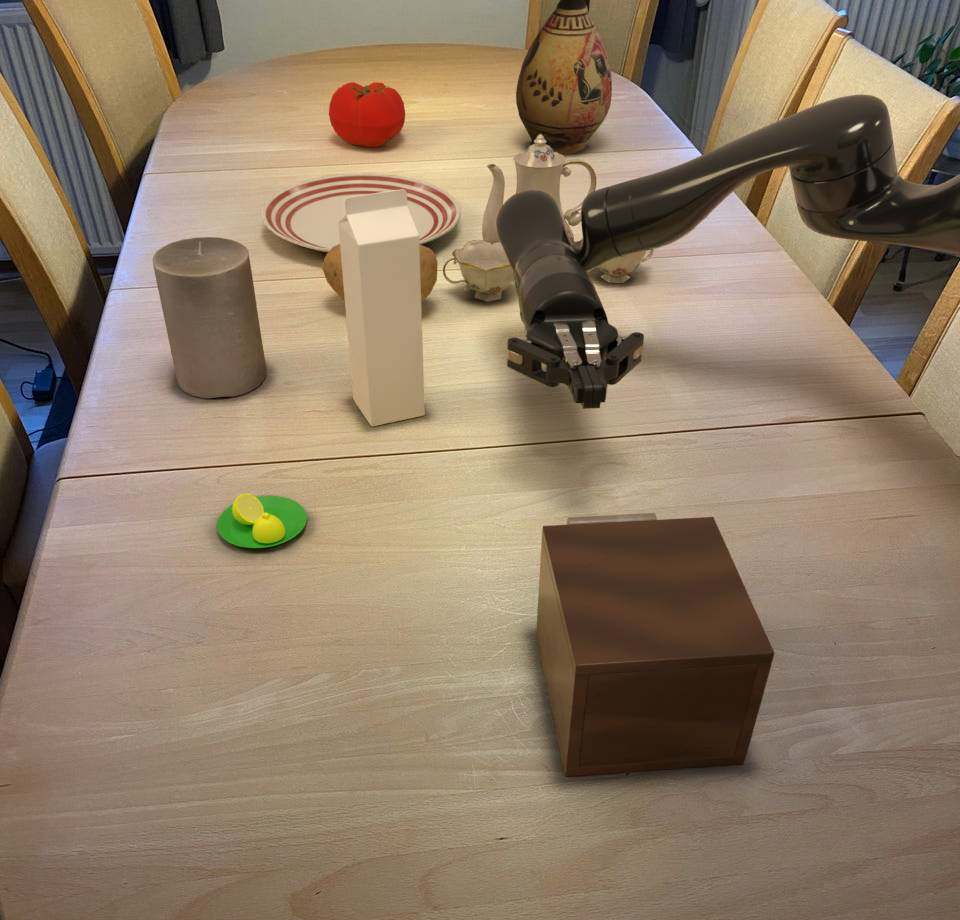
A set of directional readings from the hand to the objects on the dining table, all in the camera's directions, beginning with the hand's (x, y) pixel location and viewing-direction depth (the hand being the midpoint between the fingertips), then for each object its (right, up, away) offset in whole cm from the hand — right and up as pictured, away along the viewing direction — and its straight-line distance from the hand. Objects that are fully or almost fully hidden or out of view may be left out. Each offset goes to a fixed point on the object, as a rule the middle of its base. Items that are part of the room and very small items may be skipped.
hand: (592, 398), depth 86 cm
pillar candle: (-38, +8, +27) cm, 47 cm away
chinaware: (-1, +27, +48) cm, 55 cm away
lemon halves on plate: (-29, -10, +7) cm, 32 cm away
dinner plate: (-26, +37, +58) cm, 74 cm away
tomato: (-28, +64, +87) cm, 111 cm away
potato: (-21, +20, +40) cm, 50 cm away
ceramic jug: (+5, +63, +86) cm, 107 cm away
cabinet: (+2, -24, -8) cm, 26 cm away
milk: (-19, +4, +23) cm, 30 cm away
